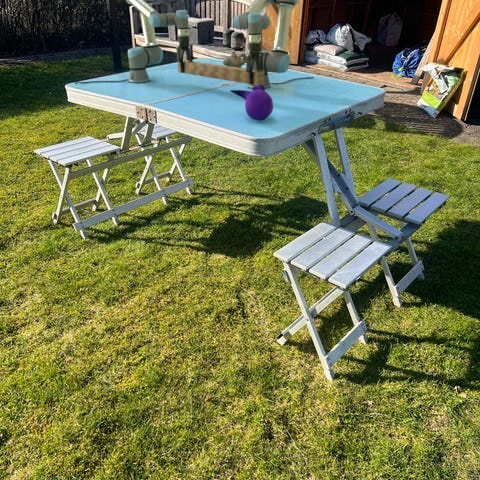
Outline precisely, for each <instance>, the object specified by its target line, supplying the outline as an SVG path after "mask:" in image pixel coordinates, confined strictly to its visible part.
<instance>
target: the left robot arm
mask: <svg viewBox="0 0 480 480" xmlns="http://www.w3.org/2000/svg"><path fill="white" fill-rule="evenodd" d="M124 1H125V2H126V3H127V4H128V5H130V6H132V7H134V8H135V9H136V10H137V11H138V12H139V16H140V23H141V28H142V35H143V41H144V43H143V44H142V46H134V47H131V48H129V49H127V57H128V66H129V76H128V78H127V79H123V80H91V81H75V82H74V83H75V84H74V85H76V84H91V83H122V82H127V81H128V82H129V83H133V84H141V83H148V82H150V76H149V74H148V71H147V67H146V66H150V65H157V64H160V63H162V60H163V58H164V51H163V49H162V47H161V46H160V45H159V43H158V42H157V38H156V32H155V28H159V27H160V28H161V27H171V26H176V27H177V28H176V29H177V41H178V45H175V50H176V62H177V63H178V62H180V67H181V72H183V73H182V74H185V73H184V63H183V60H184V55H185V54H186V58H187V60H188V61H194V51H193V50H194V49H193V47H194V44H192V43H190V30H189V14H188V10H186V9H178V10H176V11H175V12H167V13H159V12H158V11H157V10H156V9H155V8H154V7H152V5H153V4H154V3H153V1H154V0H124Z"/></svg>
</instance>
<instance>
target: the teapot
mask: <svg viewBox="0 0 480 480" xmlns="http://www.w3.org/2000/svg"><path fill="white" fill-rule="evenodd" d="M241 59H242V60H241ZM222 65H223V66H231V67H238V68H242V67H243V66H244V65H246V53H244V52H242V53H240V54H237V53H236V51H232V52H231V55H230V57H226V58H224V59H223V61H222Z"/></svg>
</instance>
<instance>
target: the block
mask: <svg viewBox="0 0 480 480" xmlns="http://www.w3.org/2000/svg"><path fill="white" fill-rule="evenodd" d="M183 63H184V73H183V72H181V67H180V62H177V69H178V71H177V72H178V73H181V74H184V75H185V74H186V75H192V76H198V77H203V78H209V79H216V80H222V81H227V82H234V83H239V84H245V85H249V73H248V72H246V67H245V68H244V67H241V68H238V67H231V66H225V65H224V64H216V63H208V62H202V61H194V60H192V61H188V59H183ZM250 71H251V70H250ZM252 73H253V84H252V85H262V84H264V71H259V70H253V71H252Z"/></svg>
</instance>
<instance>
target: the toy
mask: <svg viewBox="0 0 480 480" xmlns="http://www.w3.org/2000/svg"><path fill="white" fill-rule="evenodd" d="M230 92H231V93H232V94H234V95H235V96H238V97H240V98H242V99H243V100H245V102H244V103H245V104H244V108H245V112H246V114H247V116H248V117H249V118H250V119H252V120H254V121H265V120H266V119H268V118H269V117H270V116H271V114H272V113H273V111H274V102H273V98H272V96H271V95H270V94H269V92H267V91H266V89H265V88H264V86H263V85H257V86H254V87H253V89H252V90H243V89H231V90H230Z"/></svg>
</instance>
